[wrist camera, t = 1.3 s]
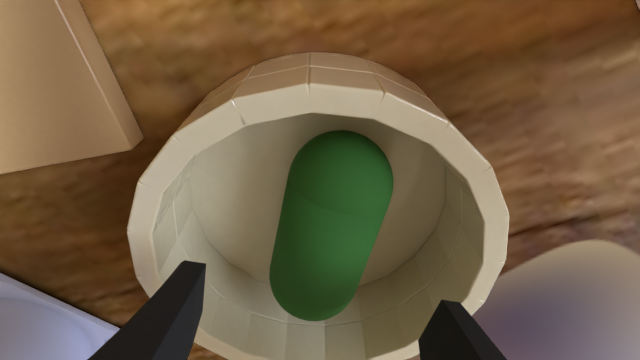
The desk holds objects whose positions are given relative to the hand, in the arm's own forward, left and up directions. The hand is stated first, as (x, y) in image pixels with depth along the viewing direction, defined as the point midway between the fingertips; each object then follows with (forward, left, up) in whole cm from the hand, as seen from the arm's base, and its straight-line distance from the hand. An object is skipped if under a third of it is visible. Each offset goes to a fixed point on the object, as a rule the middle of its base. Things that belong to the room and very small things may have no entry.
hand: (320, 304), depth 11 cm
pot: (0, 0, -6) cm, 6 cm away
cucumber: (0, 0, -4) cm, 4 cm away
